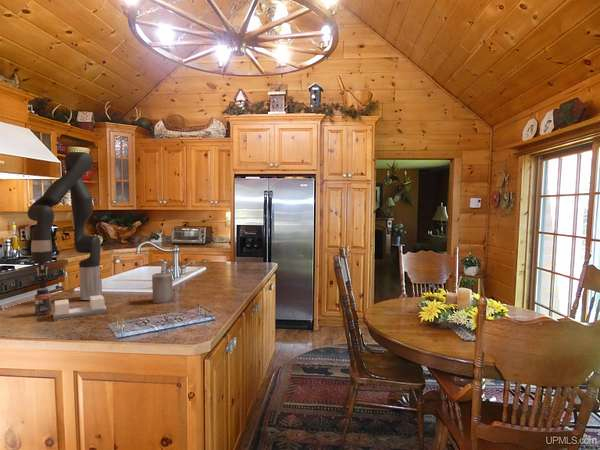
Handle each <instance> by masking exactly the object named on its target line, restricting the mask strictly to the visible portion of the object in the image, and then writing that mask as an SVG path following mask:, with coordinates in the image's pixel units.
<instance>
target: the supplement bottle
mask: <svg viewBox="0 0 600 450" xmlns="http://www.w3.org/2000/svg"><path fill="white" fill-rule="evenodd" d="M34 310H35V316H45V315H44V314H47V315H49V314H48V313H50V314H51V313H53V310H52V294H51V293H50V292H49V288H47V287H46V288H37V289H36V293H35V295H34Z"/></svg>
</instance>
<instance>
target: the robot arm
mask: <svg viewBox="0 0 600 450" xmlns="http://www.w3.org/2000/svg"><path fill="white" fill-rule="evenodd" d="M63 159H64V160H63V161H64V167H65V171H66V172H65V174H64V175H62V176H61V177H59V178H57V179H56V180H55V181H54V182H53V183H51V184H50V186H48V188H47V190H46V191H45V192H44V193H43V195H42V196H40V197H39V198H38V199H36V200H35V201H34V202H33V203H32V204H31V205H30V206H29V208H28V210H27V217H28V218H29V220H31V221H34V222H36V225H35V226H34V227H32V229H31V244H30V253H31V254H30V255H31V256H30V257H31V260H30V261H31V262H35V263H37V262H38V263H37V264H36V271H37V276H38V280H39V282H38V283H39V289H41V288H47V283H46V282H47V280H46V279H47V275H48V268H49V266H48V263H46V262H49V261H52V260H53V244H52V228H53V224H54V220H55V212H54V209H53V207H55V206H58V205H59V204H60V203H61V202H62V200H63V199H64V198H65V196H66V195H67V193H68V192H69V195H70V204H71V211H72V212H71V213H72V218H73V240H74V241H73V242H74V249H75V252H76V253H78V254H89V256H88V257H87V258H84V259H82V260H80V261H79V262H78V272H79V273H78V274H79V276H78V277H79V300H80V299H81V300H90V296H97V295H102V296H103V285H102V284H103V283H102V279H101V269H100V268H101V263H100V262H101V249H102V248H101V246H102V245H101V239H100V236H99V235H97V234H94V235H93V234H85V227H86V224H87V222H88V220H89V219H90V217H91V216H92V214H93V211H94V203H93V196H92V194H91V192H90V191H89V189H88V187H87V185H86V184H85V182H84V180H83V177H84V176H85V174H86V173H88V172H89V171H90V170H91V168H92V167H93V166H94V165H93V164H94V158H93V157H92V155H91V154H90V153H88V152H84V151H68V152H67V153H65V156H64V158H63ZM81 300H80V301H81Z"/></svg>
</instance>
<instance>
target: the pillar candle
mask: <svg viewBox="0 0 600 450" xmlns="http://www.w3.org/2000/svg"><path fill="white" fill-rule="evenodd" d="M151 284H152V302H153V303H155V304H162V303H163V304H166V303H170V302H172V301H173V299H174V293H173V292H174V291H173V290H174V289H173V273H172V272H164V271H162V272H157V273H153V274H152V275H151Z"/></svg>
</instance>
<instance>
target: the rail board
mask: <svg viewBox="0 0 600 450" xmlns="http://www.w3.org/2000/svg"><path fill="white" fill-rule="evenodd" d="M69 302H70V301H69V299H68V298H67V299H60V300H54V311H53V310H52V317H53V318H52V320H58V319H64V318H71V317H77V316H85V315H92V316H94V315H93V314H99V315H102V314H101V313H105V314H108V309H107V307H106V305H105V297H104V296H103V294H102V295H97V296H90V301H89V306H80V307H76V308H75V307H74V308H70V303H69Z"/></svg>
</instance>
